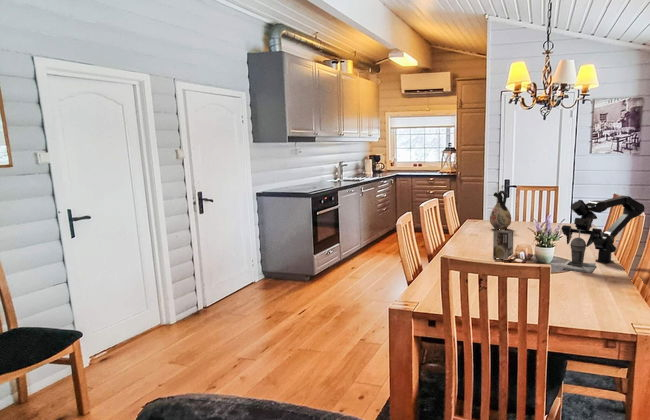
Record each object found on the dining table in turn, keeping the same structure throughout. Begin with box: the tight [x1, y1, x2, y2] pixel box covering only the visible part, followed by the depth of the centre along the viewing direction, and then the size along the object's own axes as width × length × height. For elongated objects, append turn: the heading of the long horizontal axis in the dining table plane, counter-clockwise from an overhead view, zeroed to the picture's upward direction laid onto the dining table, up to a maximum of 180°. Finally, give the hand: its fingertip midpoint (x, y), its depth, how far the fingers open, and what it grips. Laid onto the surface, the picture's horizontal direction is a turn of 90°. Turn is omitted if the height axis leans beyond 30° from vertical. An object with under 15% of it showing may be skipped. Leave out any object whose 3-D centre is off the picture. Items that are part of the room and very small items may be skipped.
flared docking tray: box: [562, 260, 597, 274], centre depth 232 cm, size 13×15×2 cm
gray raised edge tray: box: [562, 264, 597, 274], centre depth 232 cm, size 13×14×1 cm
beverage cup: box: [569, 230, 587, 267], centre depth 231 cm, size 7×7×20 cm
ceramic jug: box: [489, 190, 512, 231], centre depth 336 cm, size 17×15×30 cm
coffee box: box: [492, 230, 514, 259], centre depth 254 cm, size 9×6×16 cm
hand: (576, 245), depth 230 cm, fingers open, 9 cm apart
